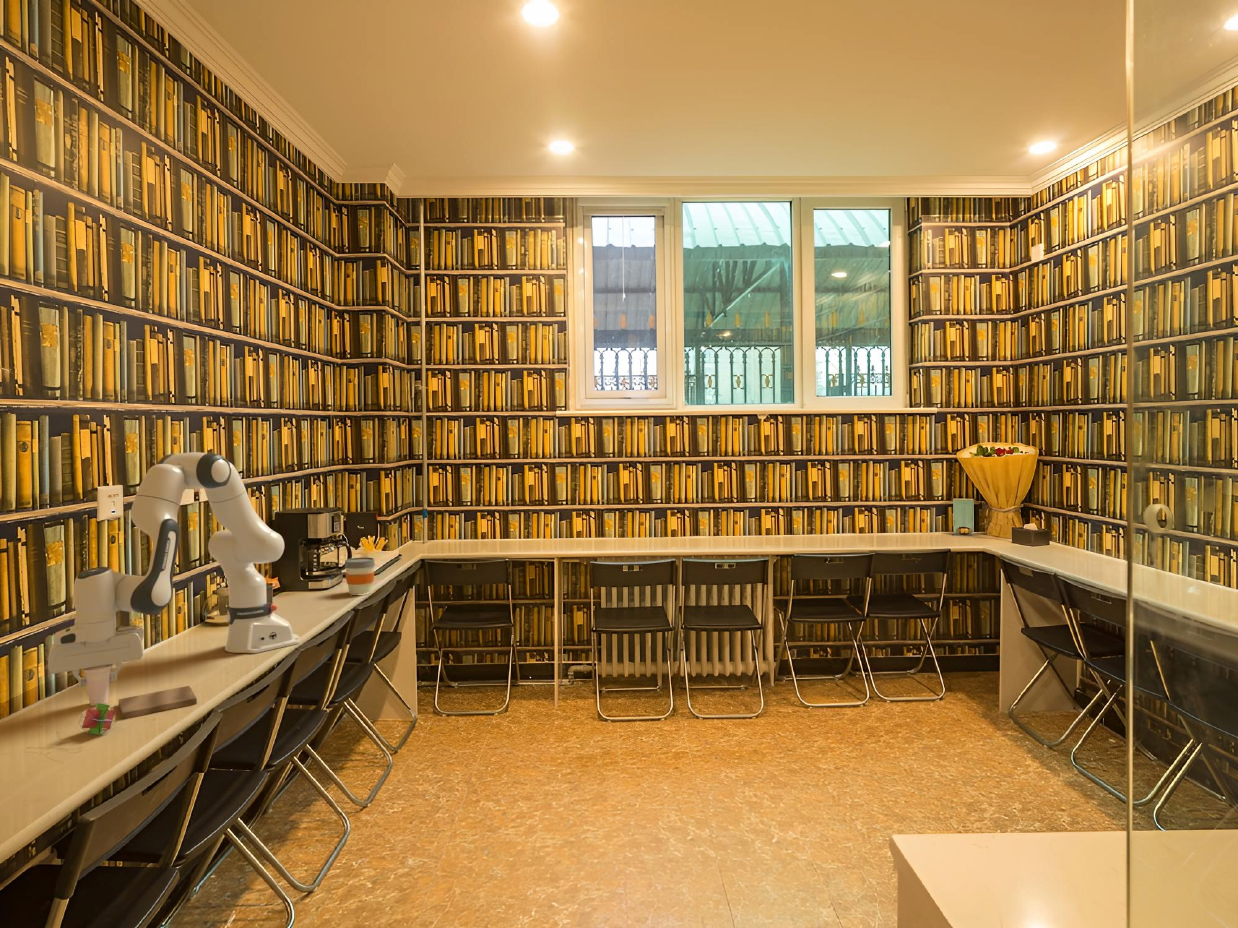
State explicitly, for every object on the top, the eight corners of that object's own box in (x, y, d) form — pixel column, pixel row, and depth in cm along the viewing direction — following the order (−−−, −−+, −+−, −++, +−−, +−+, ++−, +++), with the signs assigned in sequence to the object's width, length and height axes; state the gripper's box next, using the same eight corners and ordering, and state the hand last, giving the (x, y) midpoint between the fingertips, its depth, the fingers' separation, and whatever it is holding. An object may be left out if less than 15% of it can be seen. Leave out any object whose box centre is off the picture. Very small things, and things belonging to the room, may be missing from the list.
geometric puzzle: (112, 713, 178) (90, 694, 173) (131, 717, 175) (109, 697, 171) (88, 739, 173) (65, 720, 168) (107, 744, 170) (84, 725, 165)
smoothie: (96, 698, 194) (94, 646, 193) (119, 698, 194) (117, 646, 193) (77, 707, 187) (75, 653, 187) (101, 707, 187) (99, 654, 187)
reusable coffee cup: (380, 593, 320) (380, 559, 319) (353, 598, 311) (352, 563, 310) (366, 589, 328) (366, 556, 328) (340, 593, 319) (339, 559, 319)
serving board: (189, 690, 199) (189, 685, 199) (196, 703, 190) (196, 697, 190) (118, 704, 189) (118, 699, 189) (122, 718, 180) (122, 712, 180)
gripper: (142, 621, 199) (143, 671, 199) (46, 634, 186) (49, 687, 186) (144, 626, 194) (146, 677, 194) (47, 640, 181) (49, 694, 182)
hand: (97, 682), depth 190 cm, fingers closed on smoothie, 5 cm apart
